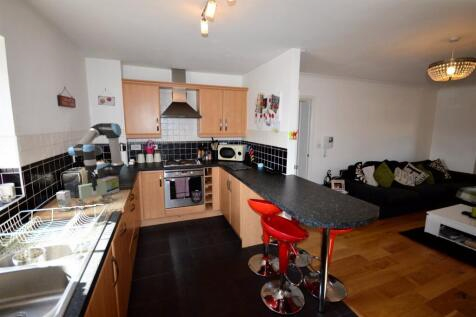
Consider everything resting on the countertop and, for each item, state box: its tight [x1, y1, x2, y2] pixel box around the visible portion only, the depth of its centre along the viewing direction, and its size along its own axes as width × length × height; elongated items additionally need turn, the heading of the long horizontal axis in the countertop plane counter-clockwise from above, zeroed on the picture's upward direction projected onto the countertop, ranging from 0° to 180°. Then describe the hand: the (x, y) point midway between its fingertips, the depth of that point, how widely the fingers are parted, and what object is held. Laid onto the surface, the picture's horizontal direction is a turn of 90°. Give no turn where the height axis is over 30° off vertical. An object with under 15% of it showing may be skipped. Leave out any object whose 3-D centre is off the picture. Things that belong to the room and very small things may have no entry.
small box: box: [63, 181, 83, 199], centre depth 186 cm, size 13×7×12 cm, turn 72°
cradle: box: [74, 193, 113, 211], centre depth 168 cm, size 22×12×6 cm, turn 142°
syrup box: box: [55, 190, 73, 213], centre depth 155 cm, size 6×6×14 cm
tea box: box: [97, 176, 120, 197], centre depth 194 cm, size 15×10×15 cm, turn 168°
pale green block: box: [78, 181, 107, 200], centre depth 167 cm, size 17×5×10 cm, turn 142°
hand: (93, 193), depth 167 cm, fingers closed on pale green block, 5 cm apart
